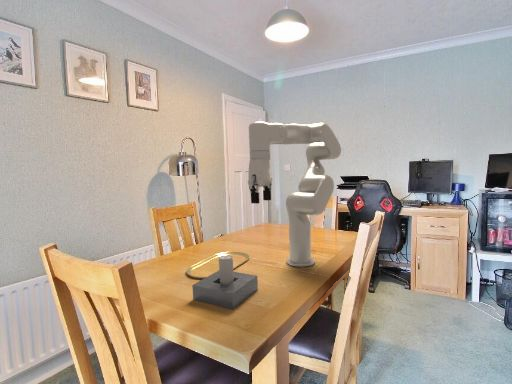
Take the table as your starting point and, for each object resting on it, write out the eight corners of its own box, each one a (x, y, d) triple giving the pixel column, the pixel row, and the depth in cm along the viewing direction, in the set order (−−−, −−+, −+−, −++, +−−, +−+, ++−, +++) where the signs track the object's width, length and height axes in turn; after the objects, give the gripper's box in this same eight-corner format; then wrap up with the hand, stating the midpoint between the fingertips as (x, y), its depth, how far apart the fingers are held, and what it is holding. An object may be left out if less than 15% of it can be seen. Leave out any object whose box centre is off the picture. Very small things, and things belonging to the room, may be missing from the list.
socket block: (221, 282, 110) (220, 269, 110) (257, 289, 103) (257, 275, 102) (193, 299, 96) (192, 285, 96) (233, 309, 89) (232, 293, 88)
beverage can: (234, 287, 102) (232, 254, 101) (234, 293, 97) (232, 259, 96) (220, 288, 102) (219, 255, 101) (219, 294, 97) (218, 259, 96)
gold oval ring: (177, 276, 119) (176, 273, 119) (224, 253, 150) (224, 250, 150) (214, 283, 110) (214, 279, 110) (256, 256, 141) (256, 253, 141)
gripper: (261, 157, 117) (263, 199, 118) (239, 156, 102) (241, 204, 103) (278, 156, 113) (279, 199, 115) (257, 155, 98) (259, 205, 100)
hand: (261, 201), depth 109 cm, fingers open, 9 cm apart
